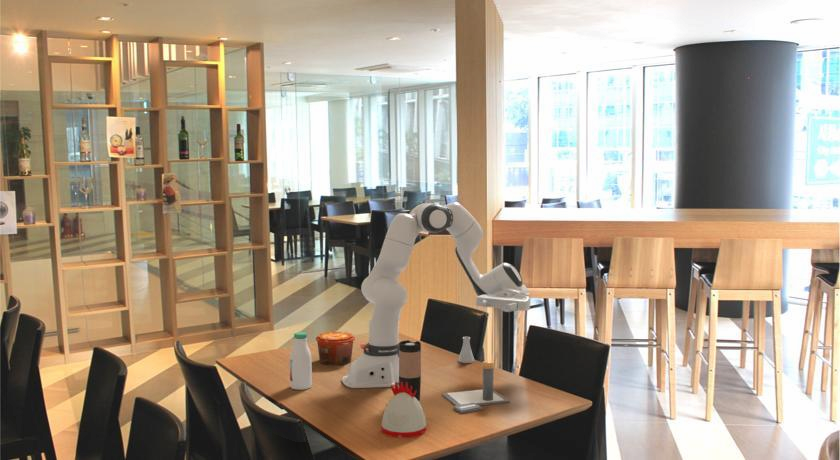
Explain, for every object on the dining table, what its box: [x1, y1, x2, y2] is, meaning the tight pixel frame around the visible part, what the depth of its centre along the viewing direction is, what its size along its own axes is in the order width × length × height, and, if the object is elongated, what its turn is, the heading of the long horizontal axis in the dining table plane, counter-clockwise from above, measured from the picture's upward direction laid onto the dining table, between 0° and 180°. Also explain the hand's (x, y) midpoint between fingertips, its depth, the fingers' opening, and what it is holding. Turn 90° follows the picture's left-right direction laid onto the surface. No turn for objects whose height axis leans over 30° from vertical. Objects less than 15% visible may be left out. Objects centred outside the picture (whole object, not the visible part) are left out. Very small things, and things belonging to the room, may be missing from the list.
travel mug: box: [398, 340, 422, 402], centre depth 264 cm, size 8×8×20 cm
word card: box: [453, 403, 483, 414], centre depth 255 cm, size 8×5×1 cm, turn 119°
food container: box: [315, 331, 356, 366], centre depth 314 cm, size 16×16×11 cm
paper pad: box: [441, 388, 510, 406], centre depth 267 cm, size 19×15×1 cm
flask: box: [457, 336, 476, 364], centre depth 315 cm, size 7×7×10 cm
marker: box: [482, 360, 495, 401], centre depth 263 cm, size 4×4×13 cm
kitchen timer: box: [380, 382, 427, 439], centre depth 236 cm, size 14×14×15 cm
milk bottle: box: [289, 331, 313, 391], centre depth 278 cm, size 8×8×20 cm
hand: (496, 305), depth 280 cm, fingers open, 8 cm apart
